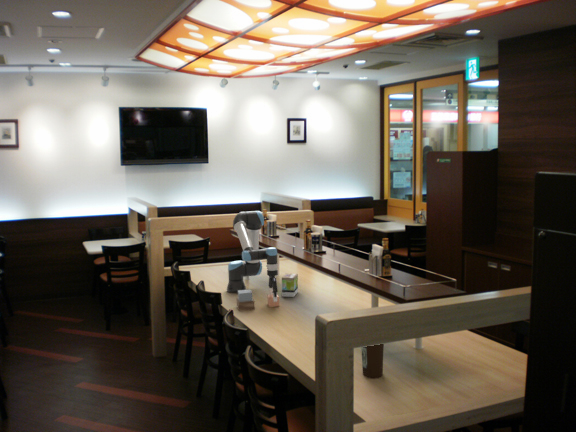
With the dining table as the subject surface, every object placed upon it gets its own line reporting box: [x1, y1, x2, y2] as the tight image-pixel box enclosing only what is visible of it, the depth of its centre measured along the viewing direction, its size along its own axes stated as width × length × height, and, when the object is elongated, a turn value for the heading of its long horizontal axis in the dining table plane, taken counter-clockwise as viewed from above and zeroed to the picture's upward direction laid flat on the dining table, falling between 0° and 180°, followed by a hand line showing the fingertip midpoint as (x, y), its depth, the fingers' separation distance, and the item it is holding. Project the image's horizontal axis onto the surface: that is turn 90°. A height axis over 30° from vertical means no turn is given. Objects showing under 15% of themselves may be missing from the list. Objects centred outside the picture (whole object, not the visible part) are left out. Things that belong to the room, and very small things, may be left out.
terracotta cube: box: [266, 294, 280, 308], centre depth 366 cm, size 7×7×7 cm
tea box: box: [281, 273, 299, 298], centre depth 394 cm, size 15×10×15 cm, turn 168°
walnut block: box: [236, 297, 256, 312], centre depth 362 cm, size 11×11×6 cm
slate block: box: [237, 289, 254, 302], centre depth 361 cm, size 9×9×6 cm
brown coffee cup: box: [360, 344, 385, 379], centre depth 244 cm, size 11×11×25 cm
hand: (273, 299), depth 366 cm, fingers open, 13 cm apart
